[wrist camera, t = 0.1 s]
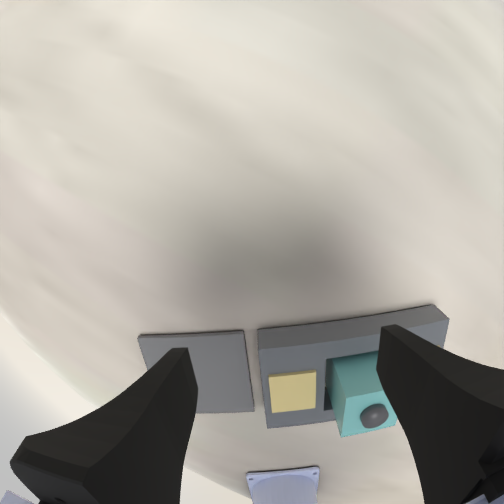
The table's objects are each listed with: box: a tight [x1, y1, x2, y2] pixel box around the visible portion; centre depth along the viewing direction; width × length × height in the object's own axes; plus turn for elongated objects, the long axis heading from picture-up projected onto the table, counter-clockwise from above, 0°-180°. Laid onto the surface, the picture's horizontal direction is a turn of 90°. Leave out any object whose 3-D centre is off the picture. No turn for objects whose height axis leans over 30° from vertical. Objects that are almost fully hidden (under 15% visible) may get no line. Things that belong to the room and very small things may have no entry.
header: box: [258, 305, 449, 428], centre depth 21 cm, size 8×14×3 cm, turn 96°
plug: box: [325, 350, 397, 437], centre depth 19 cm, size 4×4×7 cm
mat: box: [137, 331, 254, 413], centre depth 22 cm, size 8×8×1 cm
